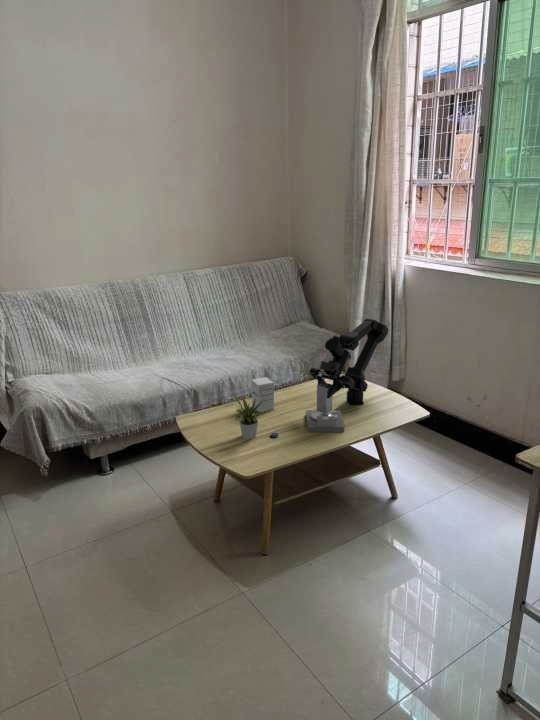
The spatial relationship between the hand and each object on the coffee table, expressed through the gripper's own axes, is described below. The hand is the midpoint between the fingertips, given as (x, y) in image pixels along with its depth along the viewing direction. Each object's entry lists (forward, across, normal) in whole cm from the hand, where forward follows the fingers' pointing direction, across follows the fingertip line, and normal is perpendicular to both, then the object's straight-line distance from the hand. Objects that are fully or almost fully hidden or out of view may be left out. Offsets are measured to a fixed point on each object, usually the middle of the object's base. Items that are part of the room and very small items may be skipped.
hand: (322, 396), depth 221 cm
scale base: (+8, +1, +8) cm, 11 cm away
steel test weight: (+4, 0, +6) cm, 7 cm away
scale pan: (+5, 0, +7) cm, 9 cm away
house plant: (+28, -16, -12) cm, 34 cm away
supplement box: (+11, -28, +5) cm, 30 cm away
